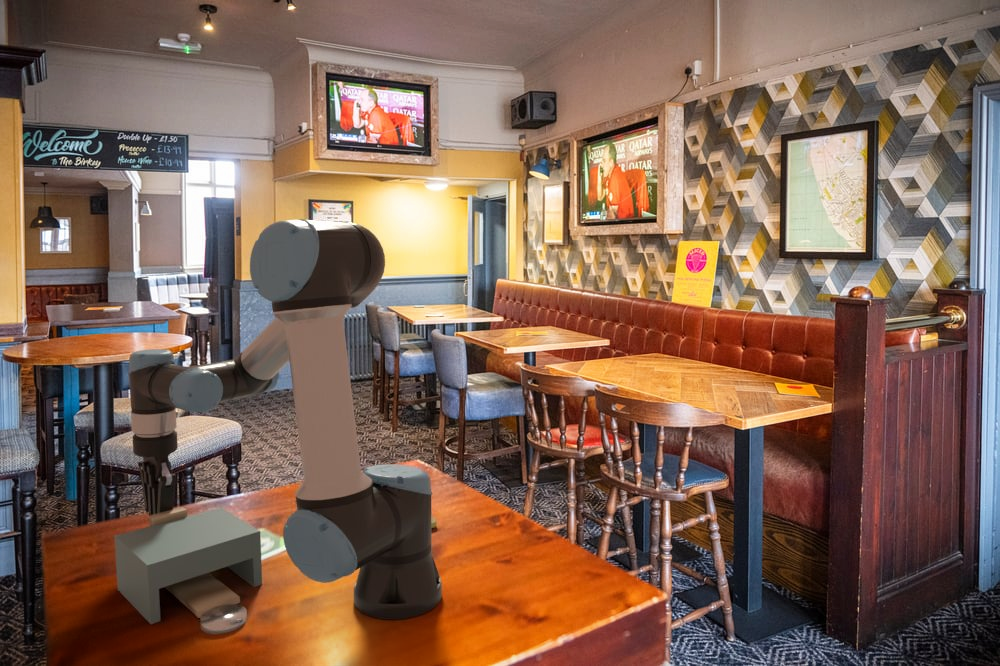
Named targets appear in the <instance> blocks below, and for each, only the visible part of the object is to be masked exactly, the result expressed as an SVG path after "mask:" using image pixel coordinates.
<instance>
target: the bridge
mask: <svg viewBox="0 0 1000 666" xmlns="http://www.w3.org/2000/svg"><path fill="white" fill-rule="evenodd" d="M113 537H114V551H115V552H114V554H115V568H116V569H115V570H116V581H117V582H116V584H117V591H118V592H119V591H120V592H119V593H121V595H122V596H123V597H124V598H125V599H126V600H127V601H128V602H129V603H130V604H131V606H133V608H135V610H136V611H137V612H138V613H139V614H140V615H141V616H142V617H143V619H145V620H146V621H147V623H149V624H150V625H153V624H157V623H158V622H161V606H160V589H162V588H165V587H166V586H169V585H172V584H175V583H178V582H181V581H184V580H187V579H190V578H193V577H196V576H199V575H202V574H205V573H208V572H209V573H211V572H213V571H217V570H221V569H223V568H228V569H229V570H231V571H232V572H234V574H236V575H237V576H238V577H240V578H242V579H243V580H244V581H246V582H247V583H248V584H249V585H251V586H252V587H253V588H256V587H258V586H259V587H260V586H261V585H263V573H262V572H263V571H262V570H263V569H262V545H261V544H262V542H261V541H262V540H261V531H260V530H259V529H257V528H256V527H254V526H252V525H251V524H249V523H248V522H246V521H244V520H243V519H242V518H240V517H238V516H236V515H235V514H233V513H232V512H229V510H227V509H225V508H223V507H217V508H214V509H210V510H206V511H202V512H201V511H200V512H198V513H194V514H191V515H187V516H186V517H183V518H179V519H175V520H171V521H168V522H164V523H160V524H156V525H153V526H150V525H149V526H145V527H142V528H138V529H134V530H131V531H127V532H123V533H119V534H115V535H113Z"/></svg>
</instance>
